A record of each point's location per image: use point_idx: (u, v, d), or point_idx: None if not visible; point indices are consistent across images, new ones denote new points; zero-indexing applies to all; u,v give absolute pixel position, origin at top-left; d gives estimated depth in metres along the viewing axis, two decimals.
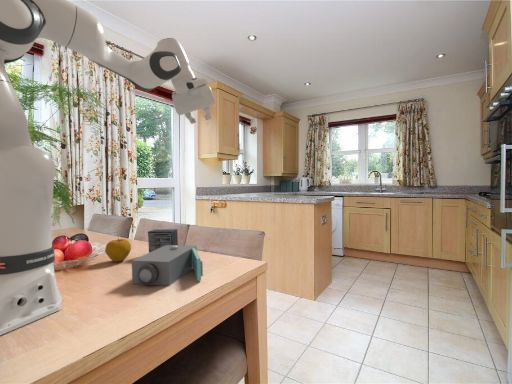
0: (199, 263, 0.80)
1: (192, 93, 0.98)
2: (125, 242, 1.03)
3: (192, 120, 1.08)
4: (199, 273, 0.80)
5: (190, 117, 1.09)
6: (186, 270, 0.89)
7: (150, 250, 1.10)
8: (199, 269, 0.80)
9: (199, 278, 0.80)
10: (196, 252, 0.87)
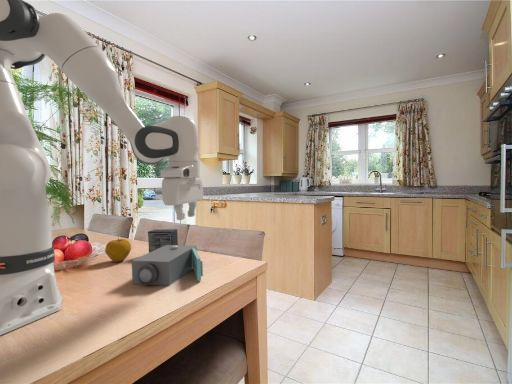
0: (199, 263, 0.80)
1: None
2: (125, 242, 1.03)
3: (188, 212, 0.84)
4: (199, 273, 0.80)
5: (191, 208, 0.85)
6: (186, 270, 0.89)
7: (150, 250, 1.10)
8: (199, 269, 0.80)
9: (199, 278, 0.80)
10: (196, 252, 0.87)
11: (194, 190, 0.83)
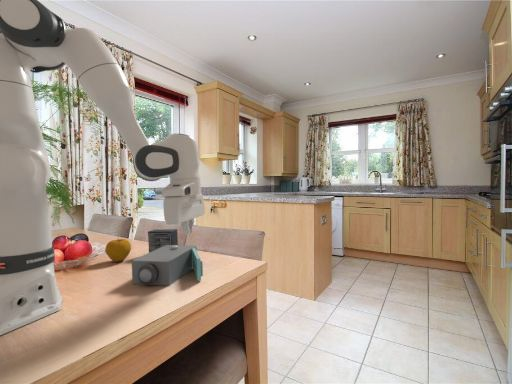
0: (199, 263, 0.80)
1: None
2: (125, 242, 1.03)
3: None
4: (199, 273, 0.80)
5: (189, 225, 0.82)
6: (186, 270, 0.89)
7: (150, 250, 1.10)
8: (199, 269, 0.80)
9: (199, 278, 0.80)
10: (196, 252, 0.87)
11: (196, 206, 0.83)
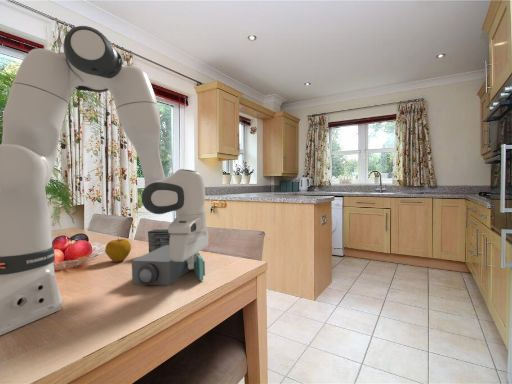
0: (201, 263, 0.80)
1: None
2: (125, 242, 1.03)
3: None
4: (201, 273, 0.80)
5: (193, 258, 0.83)
6: (186, 270, 0.89)
7: (150, 250, 1.10)
8: (201, 269, 0.80)
9: (201, 278, 0.80)
10: None
11: (200, 239, 0.84)
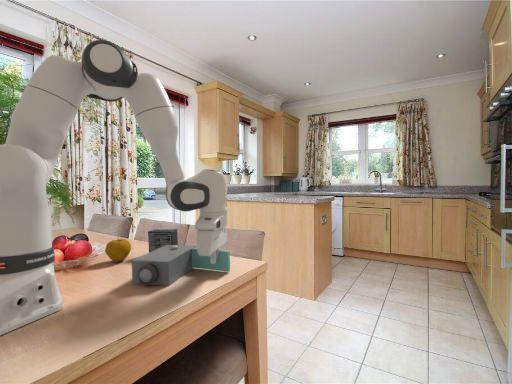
0: (229, 255, 0.88)
1: None
2: (125, 242, 1.03)
3: None
4: (229, 264, 0.88)
5: None
6: (186, 270, 0.89)
7: (150, 250, 1.10)
8: (229, 261, 0.88)
9: (229, 269, 0.88)
10: None
11: (221, 235, 0.89)
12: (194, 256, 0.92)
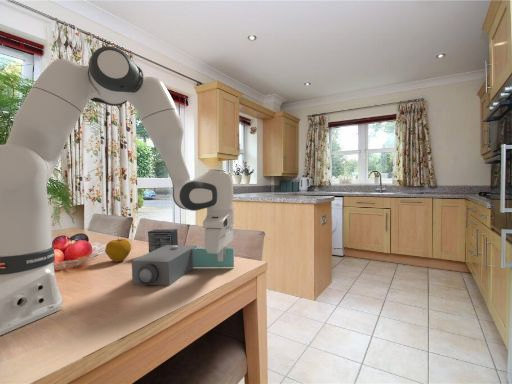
0: (233, 252, 0.92)
1: None
2: (125, 242, 1.03)
3: None
4: (233, 260, 0.92)
5: (222, 251, 0.90)
6: (186, 270, 0.89)
7: (150, 250, 1.10)
8: (233, 257, 0.92)
9: (233, 265, 0.92)
10: None
11: (228, 234, 0.91)
12: (195, 256, 0.92)
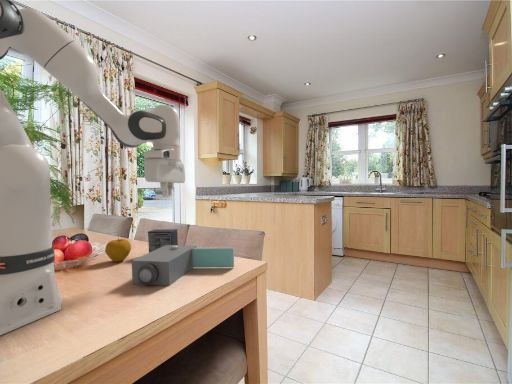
0: (233, 252, 0.92)
1: None
2: (125, 242, 1.03)
3: None
4: (233, 260, 0.92)
5: (169, 188, 0.92)
6: (186, 270, 0.89)
7: (150, 250, 1.10)
8: (233, 257, 0.92)
9: (233, 265, 0.92)
10: (211, 248, 0.93)
11: (175, 172, 0.93)
12: (195, 256, 0.92)
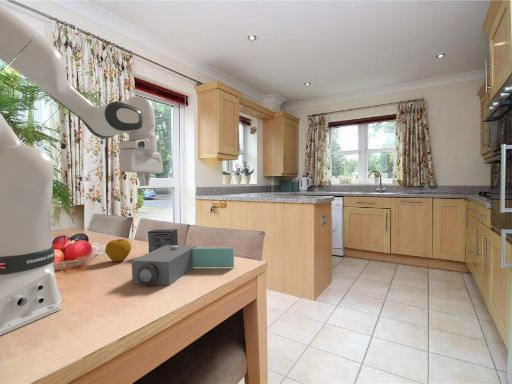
0: (233, 252, 0.92)
1: None
2: (125, 242, 1.03)
3: None
4: (233, 260, 0.92)
5: (146, 178, 0.94)
6: (186, 270, 0.89)
7: (150, 250, 1.10)
8: (233, 257, 0.92)
9: (233, 265, 0.92)
10: (211, 248, 0.93)
11: (152, 162, 0.95)
12: (195, 256, 0.92)
